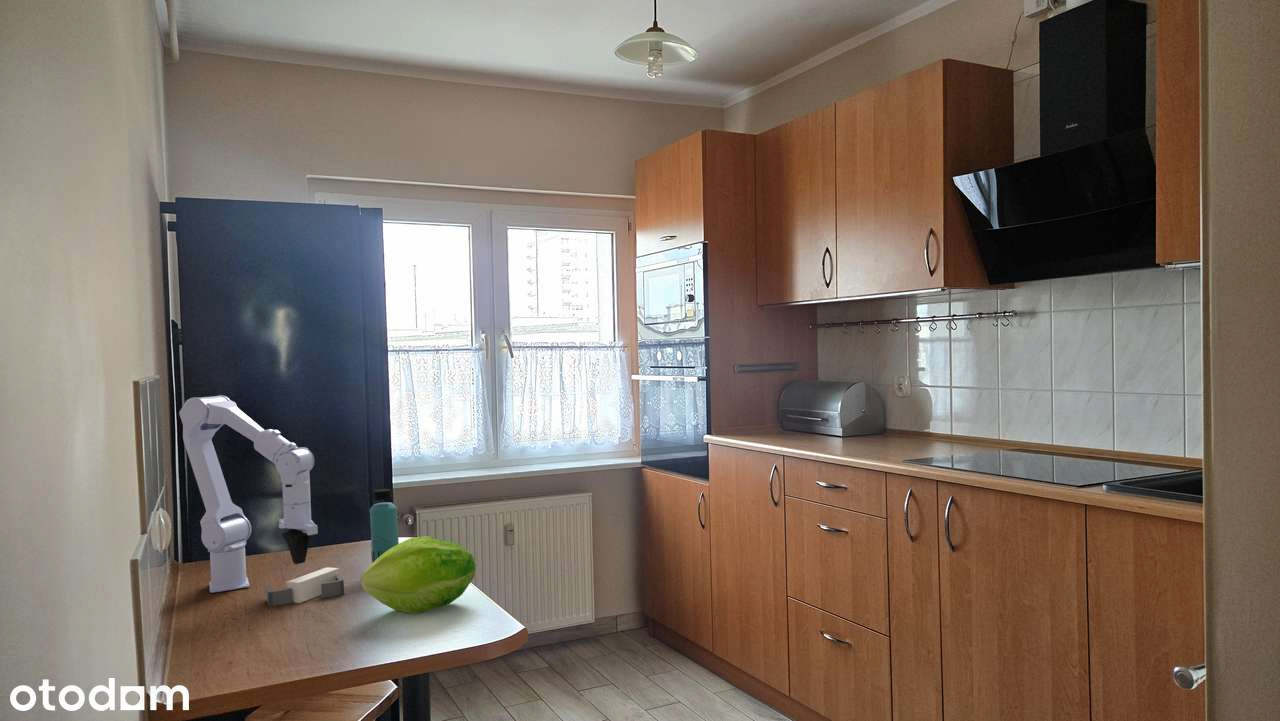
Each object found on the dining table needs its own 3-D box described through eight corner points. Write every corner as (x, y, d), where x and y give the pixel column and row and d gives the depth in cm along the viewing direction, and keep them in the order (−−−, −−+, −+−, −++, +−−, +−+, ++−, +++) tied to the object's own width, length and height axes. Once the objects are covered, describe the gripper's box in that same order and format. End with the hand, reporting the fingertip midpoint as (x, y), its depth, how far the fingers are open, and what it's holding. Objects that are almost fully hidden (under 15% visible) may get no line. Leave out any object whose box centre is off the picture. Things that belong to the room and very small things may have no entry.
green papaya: (374, 627, 154) (356, 617, 167) (490, 603, 165) (465, 596, 179) (368, 547, 155) (351, 544, 169) (484, 529, 167) (459, 528, 180)
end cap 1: (266, 600, 179) (265, 586, 179) (289, 596, 181) (288, 582, 181) (268, 606, 174) (268, 592, 173) (292, 603, 176) (291, 588, 176)
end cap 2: (318, 591, 184) (317, 578, 184) (339, 588, 186) (339, 574, 186) (322, 597, 179) (321, 584, 179) (344, 594, 181) (343, 580, 181)
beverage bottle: (404, 569, 200) (401, 486, 200) (394, 577, 193) (390, 491, 193) (378, 570, 201) (375, 487, 201) (367, 577, 194) (363, 492, 194)
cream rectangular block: (287, 602, 177) (286, 581, 177) (327, 587, 188) (326, 567, 188) (300, 604, 176) (299, 582, 176) (339, 588, 187) (339, 568, 187)
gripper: (264, 502, 189) (267, 561, 189) (294, 508, 179) (296, 571, 179) (295, 497, 194) (297, 555, 194) (325, 503, 184) (327, 564, 184)
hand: (299, 562), depth 187 cm, fingers closed
